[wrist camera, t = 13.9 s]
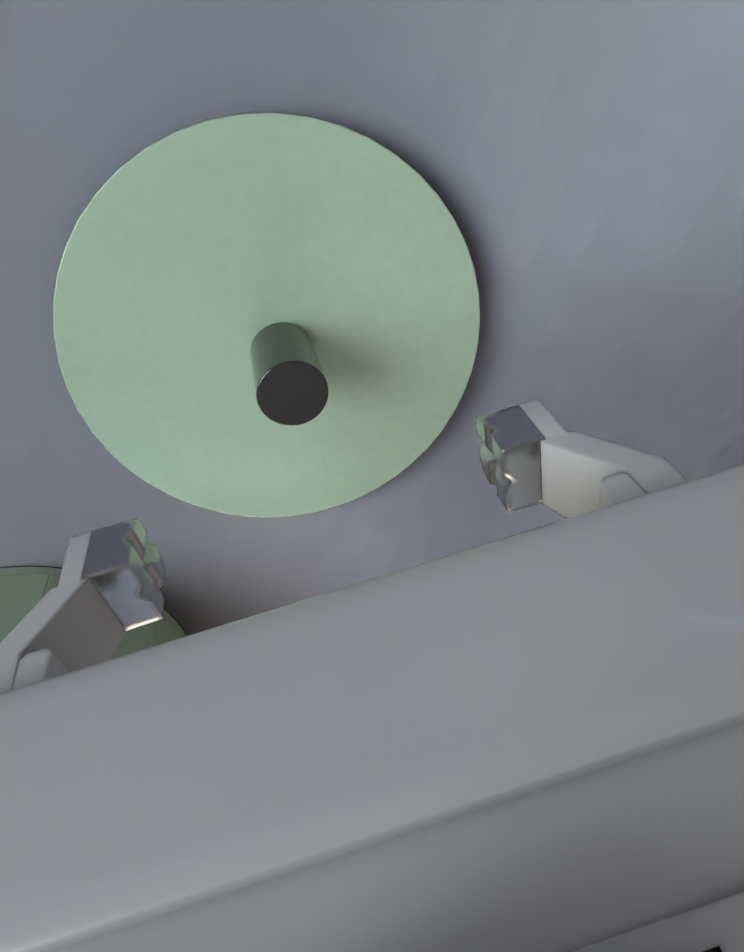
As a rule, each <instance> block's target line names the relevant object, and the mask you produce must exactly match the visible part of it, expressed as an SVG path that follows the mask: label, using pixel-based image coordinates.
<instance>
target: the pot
mask: <svg viewBox="0 0 744 952" xmlns="http://www.w3.org/2000/svg"><path fill="white" fill-rule="evenodd" d="M61 571H62V569H60V568H52V567H8V568H0V643H1V642H2V641H3V639H4V638H5V637H6V636H7V635H8V634H9V633H10V632H11V631H12V630H13V629H14V628H15V627H16V626H17V625H18V624H19V623H20V621H21V620H22V619H23V618H24V617H25V616H26V615H27V614H28V613H29V612H30V611H31V610H32V609H33V608H34V607H35V606H36V604H37V603H38V602H39V601H40V600H41V599H42V598H43V597H44V596H45V595H46V594H47V593H48V592H49V591H50V590H51V589H52V588H55V587H58V584H59V579H60V575H61ZM185 636H186V635H185V633H184V631H183V630H182V629H181V627H180V626H179V624H178V623H177V621H176V620H175V619H174V618H173V617H172V616H171V615H170V614H169V613H168V612H167V611H166V610H165V609H163V619H160V620H157V621H154V622H151V623H148V624H145V625H142V626H139V627H136V628H133V629H130V630H127V634H126V635H125V637H124V638H123V640H122V642H121V643H120V645H119V647H118V648H117V650H116V651H115V653H114V655H113V656H112V658H111V659H114V658H117V657H121V656H124V655H127V654H130V653H134V652H137V651H140V650H143V649H146V648H150V647H153V646H156V645H159V644H163V643H166V642H169V641H172V640H176V639H179V638H182V637H185Z"/></svg>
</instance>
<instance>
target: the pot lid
mask: <svg viewBox="0 0 744 952" xmlns="http://www.w3.org/2000/svg"><path fill="white" fill-rule="evenodd" d="M479 328H480V302H479V290H478V285H477V279H476V274H475V268H474V265H473V262H472V259H471V256H470V253H469V250H468V247H467V244H466V241H465V239H464V237H463V235H462V233H461V231H460V229H459V227H458V225H457V223H456V221H455V219H454V217H453V216H452V214H451V213H450V211H449V210H448V208H447V207H446V205H445V204H444V202H443V201H442V199H441V198H440V196H439V195H438V194H437V193H436V192H435V191H434V189H433V188H432V187H431V186H430V185H429V184H428V183H427V182H426V181H425V179H424V178H423V177H422V176H421V175H420V174H419V173H418V172H417V171H416V170H414V169H413V168H412V167H411V166H410V165H408V164H407V163H406V162H405V161H404V160H402V159H401V158H400V157H399V156H398V155H396V154H395V153H393V152H392V151H390V150H389V149H387V148H385V147H384V146H382V145H380V144H379V143H377V142H375V141H374V140H372V139H371V138H369V137H367V136H365V135H363V134H361V133H358V132H356V131H354V130H351V129H349V128H347V127H344V126H342V125H340V124H337V123H333V122H330V121H326V120H322V119H318V118H314V117H311V116H307V115H299V114H290V113H281V112H252V113H237V114H232V115H227V116H222V117H216V118H211V119H206V120H204V121H201V122H198V123H195V124H192V125H190V126H187V127H184V128H181V129H178V130H176V131H174V132H172V133H170V134H168V135H166V136H165V137H163V138H161V139H159V140H157V141H155V142H153V143H152V144H150V145H148V146H146V147H145V148H144V149H142V150H141V151H140V152H138V153H137V154H136V155H134V156H133V157H132V158H130V159H129V160H128V161H127V162H125V163H124V164H123V165H121V166H120V167H119V168H118V169H117V170H116V171H115V172H114V173H113V175H112V176H111V177H110V178H109V179H108V180H107V181H106V182H105V183H104V184H103V185H102V186H101V187H100V188H99V189H98V191H97V192H96V194H95V195H94V196H93V198H92V199H91V201H90V202H89V204H88V205H87V207H86V208H85V209H84V211H83V212H82V214H81V215H80V217H79V218H78V220H77V223H76V225H75V227H74V229H73V231H72V233H71V235H70V237H69V239H68V241H67V243H66V246H65V249H64V252H63V256H62V259H61V262H60V266H59V269H58V272H57V277H56V284H55V292H54V299H53V334H54V339H55V345H56V351H57V357H58V362H59V365H60V368H61V371H62V374H63V377H64V380H65V384H66V387H67V389H68V391H69V393H70V395H71V397H72V399H73V401H74V403H75V405H76V407H77V409H78V411H79V413H80V414H81V416H82V417H83V419H84V420H85V422H86V423H87V425H88V426H89V428H90V429H91V431H92V432H93V434H94V435H95V436H96V437H97V439H98V440H99V441H100V442H101V443H102V444H103V445H104V447H105V448H106V449H107V450H108V451H109V452H110V453H111V454H112V455H113V456H114V457H115V458H116V459H117V460H118V461H119V462H121V463H122V464H123V465H124V466H125V467H126V468H127V469H128V470H130V471H131V472H132V473H134V474H135V475H137V476H138V477H140V478H141V479H142V480H144V481H145V482H147V483H148V484H150V485H151V486H153V487H155V488H157V489H159V490H161V491H162V492H164V493H166V494H168V495H170V496H172V497H174V498H177V499H179V500H182V501H184V502H187V503H189V504H192V505H194V506H197V507H201V508H205V509H208V510H212V511H215V512H220V513H226V514H232V515H237V516H247V517H264V518H266V517H288V516H295V515H302V514H309V513H314V512H317V511H321V510H325V509H329V508H333V507H336V506H339V505H341V504H344V503H347V502H350V501H352V500H355V499H357V498H359V497H361V496H363V495H365V494H367V493H369V492H371V491H373V490H375V489H377V488H378V487H380V486H382V485H383V484H385V483H386V482H388V481H390V480H391V479H393V478H394V477H396V476H397V475H398V474H399V473H401V472H402V471H403V470H405V469H406V468H407V467H408V466H410V465H411V464H412V463H413V462H414V461H415V460H416V459H417V458H418V457H419V456H420V455H421V454H422V453H423V452H424V451H425V450H426V449H427V448H428V447H429V446H430V445H431V444H432V442H433V441H434V440H435V439H436V438H437V436H438V435H439V434H440V433H441V432H442V430H443V429H444V427H445V426H446V424H447V423H448V421H449V419H450V418H451V416H452V415H453V413H454V412H455V410H456V408H457V406H458V404H459V402H460V400H461V398H462V396H463V394H464V392H465V389H466V386H467V384H468V381H469V378H470V375H471V372H472V369H473V366H474V361H475V356H476V352H477V347H478V340H479Z"/></svg>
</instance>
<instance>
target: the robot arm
mask: <svg viewBox="0 0 744 952" xmlns="http://www.w3.org/2000/svg"><path fill="white" fill-rule="evenodd" d="M476 432H477V434H478V435H479V437H480V438H481V440H482V442H481V443H480V445H479V447H478V449H479V456H480V461H481V464H482V468H483V471H484V473H485V475H486V477H487V479H488V481H489V482H490V484H493V485H495V486H496V488H497V496H498V497H499V499H500V500H501V502H502V504H503V505H504V507H505V508H506V510H507V511H508V512H512V511H516V510H519V509H523V508H526V507H530V506H533V505H537V504H541V503H543V505H545V506H547V507H548V508H550V509H552V510H554V511H556V512H558V513H560V514H562V515H564V516H565V517H567V519H564V520H561V521H557V522H554V523H551V524H548V525H545V526H541V527H538V528H535V529H532V530H528V531H525V532H522V533H519V534H515V535H512V536H509V537H506V538H502V539H499V540H496V541H493V542H489V543H486V544H483V545H480V546H477V547H473V548H470V549H467V550H464V551H460V552H457V553H454V554H451V555H447V556H444V557H441V558H438V559H435V560H431V561H428V562H425V563H422V564H418V565H415V566H412V567H409V568H405V569H402V570H399V571H396V572H393V573H389V574H386V575H383V576H380V577H376V578H373V579H370V580H367V581H363V582H360V583H357V584H354V585H350V586H347V587H344V588H341V589H337V590H334V591H331V592H328V593H325V594H321V595H318V596H315V597H312V598H308V599H305V600H302V601H299V602H295V603H292V604H289V605H286V606H282V607H279V608H276V609H273V610H270V611H266V612H263V613H260V614H257V615H253V616H250V617H247V618H244V619H240V620H237V621H234V622H231V623H227V624H224V625H221V626H218V627H214V628H211V629H208V630H205V631H202V632H198V633H195V634H192V635H189V636H185V637H182V638H179V639H176V640H172V641H169V642H166V643H163V644H159V645H156V646H153V647H150V648H146V649H143V650H140V651H137V652H134V653H130V654H127V655H124V656H121V657H117V658H114V659H111V658H112V656H113V655H114V653H115V651H116V650H117V648H118V647H119V645H120V643H121V642H122V640H123V638H124V637H125V635H126V634H127V630H130V629H133V628H136V627H139V626H142V625H145V624H148V623H151V622H154V621H157V620H160V619H163V605H164V596H163V594H162V593H161V591H160V588H161V587H162V585H163V584H164V583H165V570H164V565H163V561H162V558H161V556H160V553H159V551H158V549H157V548H156V546H155V544H153V543H150V542H148V541H146V534H147V531H146V529H145V527H144V526H143V524H142V523H141V521H140V520H138V519H133V520H129V521H126V522H122V523H118V524H115V525H111V526H107V527H104V528H100V529H97V530H94V531H90V532H86V533H83V534H79V535H76V536H73V537H72V538H71V539H70V540H69V542H68V546H67V550H66V555H65V559H64V563H63V567H62V571H61V575H60V579H59V584H58V587H55V588H52V589H51V590H50V591H49V592H48V593H47V594H46V595H45V596H44V597H43V598H42V599H41V600H40V601H39V602H38V603H37V604H36V606H35V607H34V608H33V609H32V610H31V611H30V612H29V613H28V614H27V615H26V616H25V617H24V618H23V619H22V620H21V621H20V623H19V624H18V625H17V626H16V627H15V628H14V629H13V630H12V631H11V632H10V633H9V634H8V635H7V636H6V637H5V638H4V639H3V641H2V642H1V643H0V952H744V464H742V465H739V466H736V467H733V468H729V469H726V470H723V471H720V472H716V473H713V474H710V475H707V476H703V477H700V478H697V479H694V480H691V481H688V480H687V479H686V478H685V477H684V476H683V475H682V474H681V473H680V472H679V471H678V470H677V469H676V468H675V467H674V466H673V465H672V464H671V463H670V462H669V461H668V460H667V459H666V458H664V457H661V456H658V455H654V454H651V453H647V452H644V451H640V450H637V449H634V448H630V447H627V446H623V445H620V444H617V443H613V442H610V441H606V440H603V439H600V438H596V437H593V436H589V435H586V434H582V433H579V432H576V431H572V432H569V433H568V432H567V430H566V429H565V428H564V427H563V426H562V425H561V424H560V423H559V421H558V420H557V419H556V418H555V417H554V416H553V415H552V414H551V412H550V411H549V410H548V409H547V408H546V407H545V406H544V404H543V403H542V402H541V401H540V400H539V399H536V398H535V399H532V400H529V401H526V402H523V403H520V404H517V405H516V406H513V407H510V408H506V409H503V410H500V411H497V412H493V413H490V414H487V415H484V416H480V417H477V418H476Z"/></svg>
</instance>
